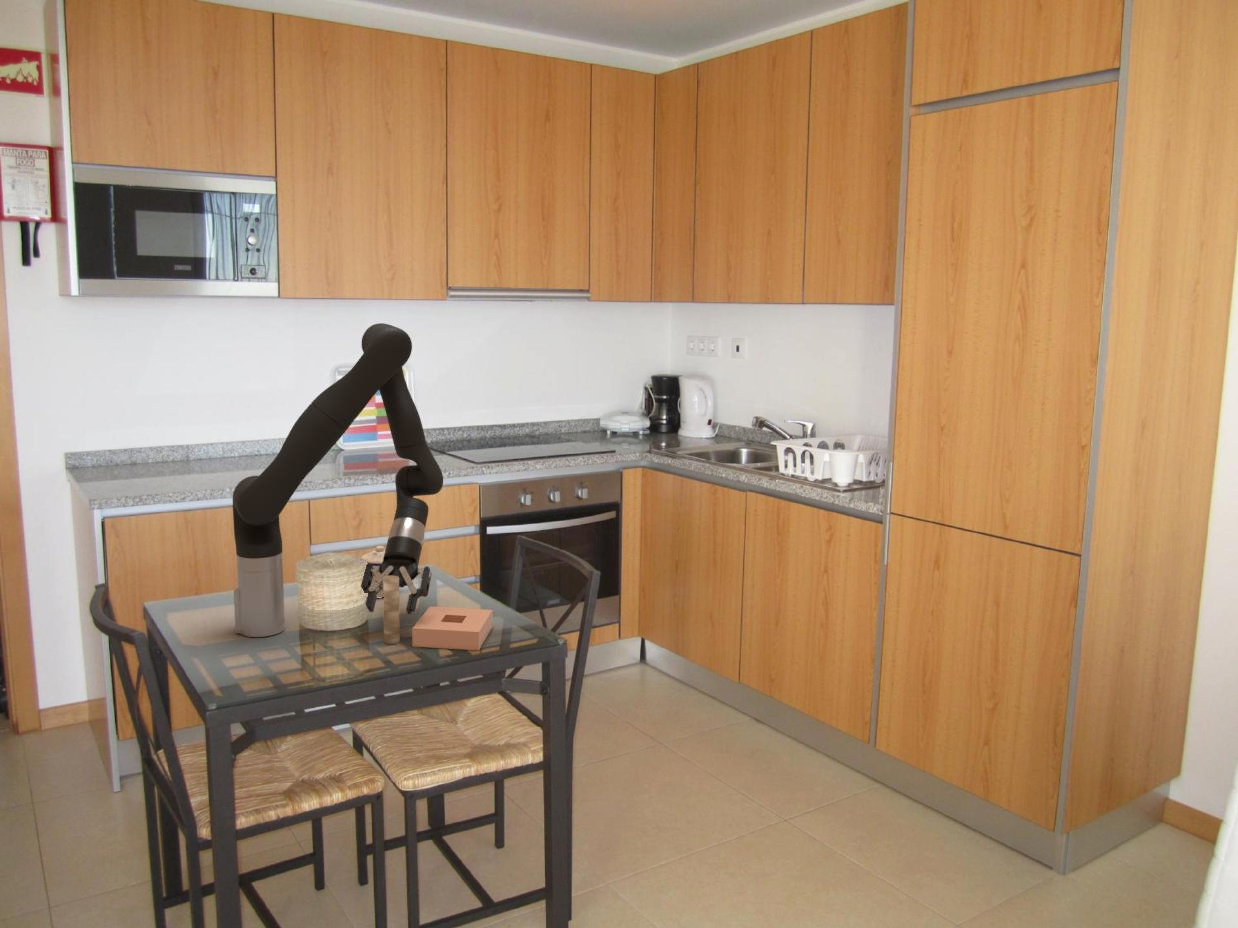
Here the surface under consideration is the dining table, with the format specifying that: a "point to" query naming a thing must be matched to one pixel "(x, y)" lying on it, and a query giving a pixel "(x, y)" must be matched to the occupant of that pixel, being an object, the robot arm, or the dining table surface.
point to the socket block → (452, 628)
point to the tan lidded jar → (375, 562)
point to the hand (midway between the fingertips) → (389, 611)
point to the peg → (391, 609)
